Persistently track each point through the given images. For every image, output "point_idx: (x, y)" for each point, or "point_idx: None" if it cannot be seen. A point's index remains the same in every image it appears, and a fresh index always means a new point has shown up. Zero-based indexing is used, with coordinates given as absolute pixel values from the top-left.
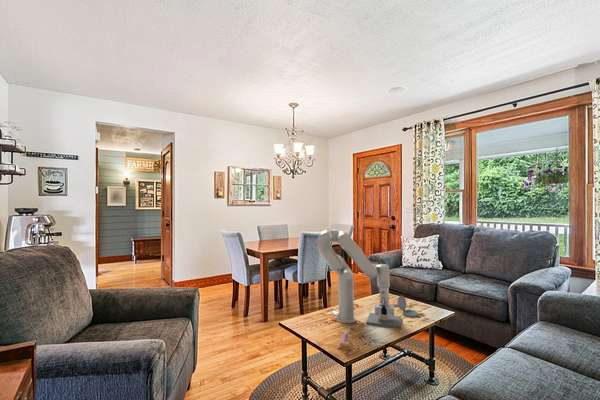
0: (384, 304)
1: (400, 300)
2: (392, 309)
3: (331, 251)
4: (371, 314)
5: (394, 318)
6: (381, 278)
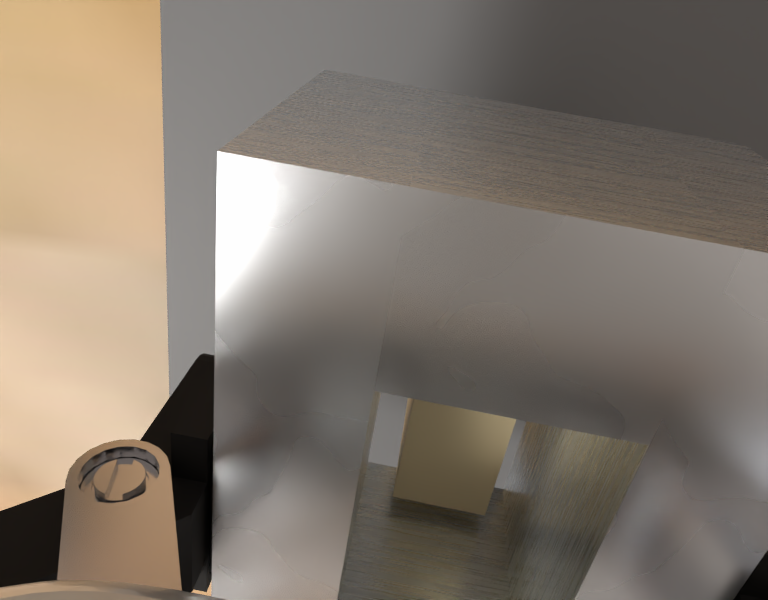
0: (277, 553)
1: None
2: None
3: None
4: None
5: (381, 43)
6: None
